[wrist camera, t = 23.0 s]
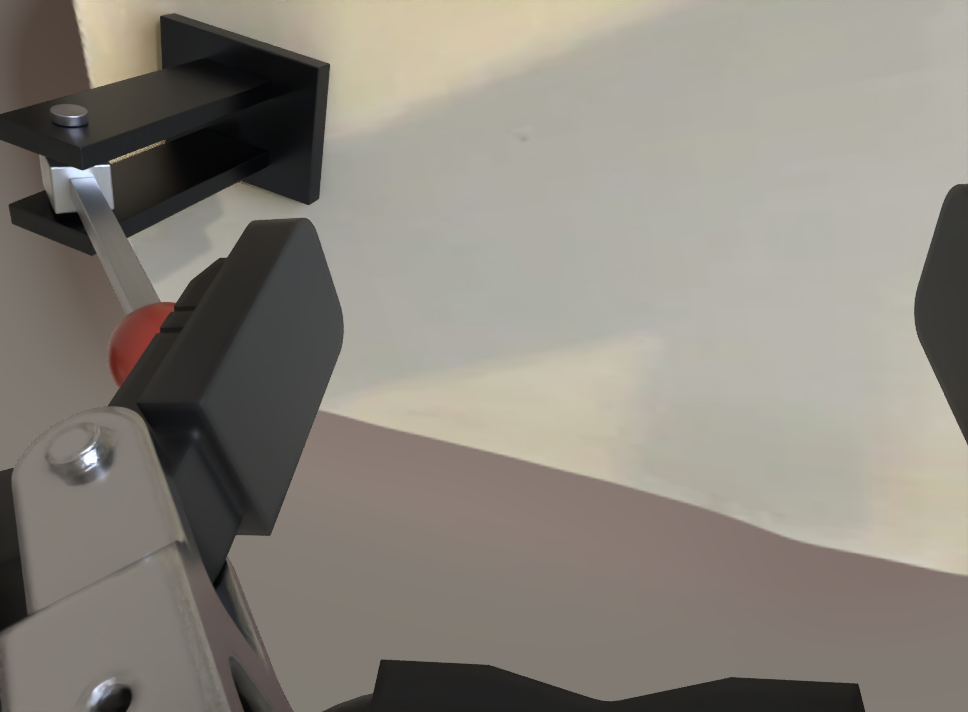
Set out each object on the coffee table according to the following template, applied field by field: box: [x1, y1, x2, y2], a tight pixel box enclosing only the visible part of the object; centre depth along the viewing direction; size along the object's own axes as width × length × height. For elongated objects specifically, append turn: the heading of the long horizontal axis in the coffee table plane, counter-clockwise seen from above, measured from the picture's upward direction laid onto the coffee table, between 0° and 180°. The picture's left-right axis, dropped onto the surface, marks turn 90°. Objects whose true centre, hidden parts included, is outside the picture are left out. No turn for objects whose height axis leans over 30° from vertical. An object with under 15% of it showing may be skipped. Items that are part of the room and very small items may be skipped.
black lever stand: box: [0, 13, 330, 256], centre depth 38 cm, size 10×8×15 cm
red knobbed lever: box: [39, 155, 176, 388], centre depth 30 cm, size 17×4×4 cm
